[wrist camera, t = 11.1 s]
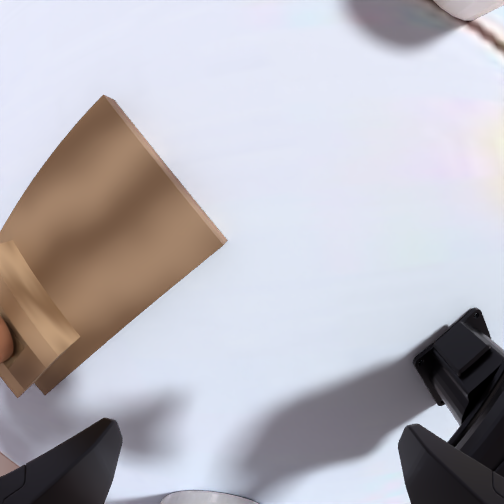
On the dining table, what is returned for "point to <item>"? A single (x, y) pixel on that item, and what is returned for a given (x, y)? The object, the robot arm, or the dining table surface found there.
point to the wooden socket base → (93, 247)
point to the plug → (5, 342)
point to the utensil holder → (204, 498)
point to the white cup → (469, 7)
